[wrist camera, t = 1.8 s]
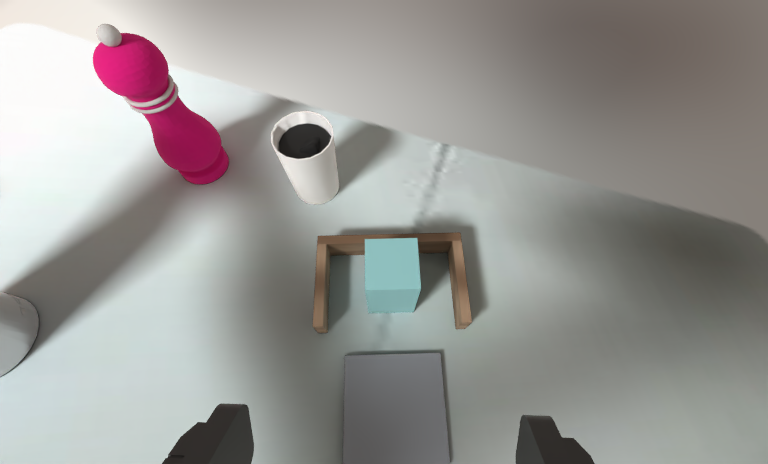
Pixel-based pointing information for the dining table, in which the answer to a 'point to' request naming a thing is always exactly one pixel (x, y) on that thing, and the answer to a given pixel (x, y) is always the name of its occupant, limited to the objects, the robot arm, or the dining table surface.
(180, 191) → the dining table surface
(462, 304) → the walnut cubby
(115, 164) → the dining table surface
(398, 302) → the teal block
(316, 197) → the white paper cup
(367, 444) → the slate mat
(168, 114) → the pepper mill
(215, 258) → the dining table surface
